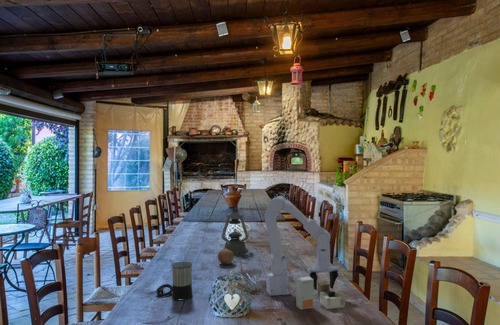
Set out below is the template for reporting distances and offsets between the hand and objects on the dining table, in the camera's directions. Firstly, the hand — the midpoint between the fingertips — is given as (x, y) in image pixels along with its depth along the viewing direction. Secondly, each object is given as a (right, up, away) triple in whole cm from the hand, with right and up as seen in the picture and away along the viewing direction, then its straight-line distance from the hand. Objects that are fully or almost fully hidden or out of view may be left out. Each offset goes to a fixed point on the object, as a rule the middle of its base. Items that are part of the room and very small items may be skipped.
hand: (323, 288), depth 171 cm
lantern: (-43, -3, +86) cm, 96 cm away
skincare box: (-10, -4, -12) cm, 16 cm away
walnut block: (0, -4, 0) cm, 4 cm away
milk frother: (-67, -4, +2) cm, 67 cm away
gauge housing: (+2, -4, -9) cm, 10 cm away
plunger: (+1, -3, -7) cm, 7 cm away
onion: (-47, -3, +53) cm, 71 cm away
